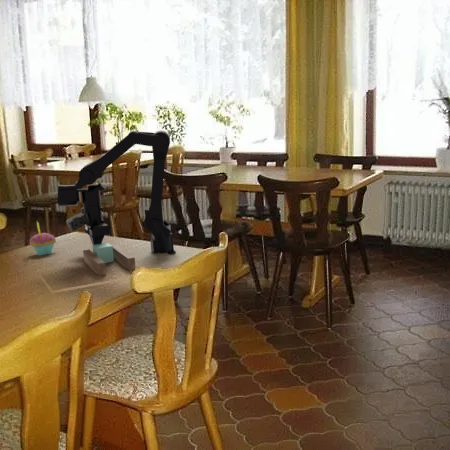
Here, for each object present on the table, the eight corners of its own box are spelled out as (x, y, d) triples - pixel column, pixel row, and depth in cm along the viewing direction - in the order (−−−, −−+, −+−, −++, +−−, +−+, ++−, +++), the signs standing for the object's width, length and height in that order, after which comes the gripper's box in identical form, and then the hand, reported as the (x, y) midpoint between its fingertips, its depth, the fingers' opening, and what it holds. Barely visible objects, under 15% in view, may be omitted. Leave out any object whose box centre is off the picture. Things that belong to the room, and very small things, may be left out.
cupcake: (49, 257, 215) (45, 222, 212) (26, 257, 217) (21, 222, 214) (61, 250, 223) (57, 216, 221) (38, 250, 225) (34, 216, 222)
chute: (118, 258, 210) (116, 244, 209) (135, 271, 194) (134, 257, 193) (84, 263, 205) (82, 250, 204) (99, 278, 189) (98, 263, 188)
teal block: (109, 257, 208) (107, 242, 207) (113, 261, 204) (112, 246, 202) (93, 260, 206) (92, 245, 205) (98, 264, 201) (96, 248, 200)
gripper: (60, 203, 213) (65, 249, 216) (73, 212, 196) (79, 262, 200) (93, 198, 217) (98, 244, 221) (109, 207, 201) (114, 256, 204)
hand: (96, 251), depth 211 cm, fingers closed
